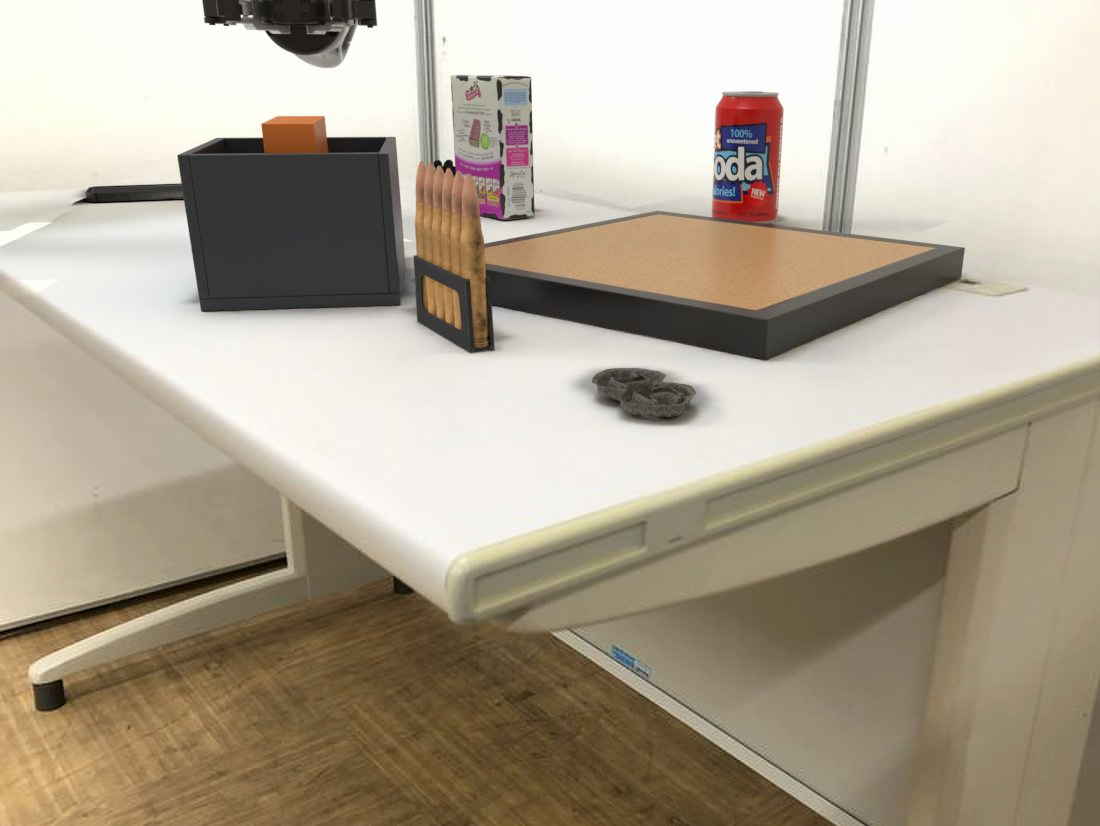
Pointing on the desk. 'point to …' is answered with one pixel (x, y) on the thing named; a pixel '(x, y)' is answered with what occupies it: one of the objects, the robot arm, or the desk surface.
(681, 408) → the corroded twin loop
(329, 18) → the robot arm
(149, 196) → the phone
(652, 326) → the cork board
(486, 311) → the ammunition clip
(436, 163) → the wireless earbuds
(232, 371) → the desk surface
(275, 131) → the block
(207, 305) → the trash can
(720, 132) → the soda can
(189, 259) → the desk surface
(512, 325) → the desk surface
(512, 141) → the candy bar box
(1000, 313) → the desk surface
